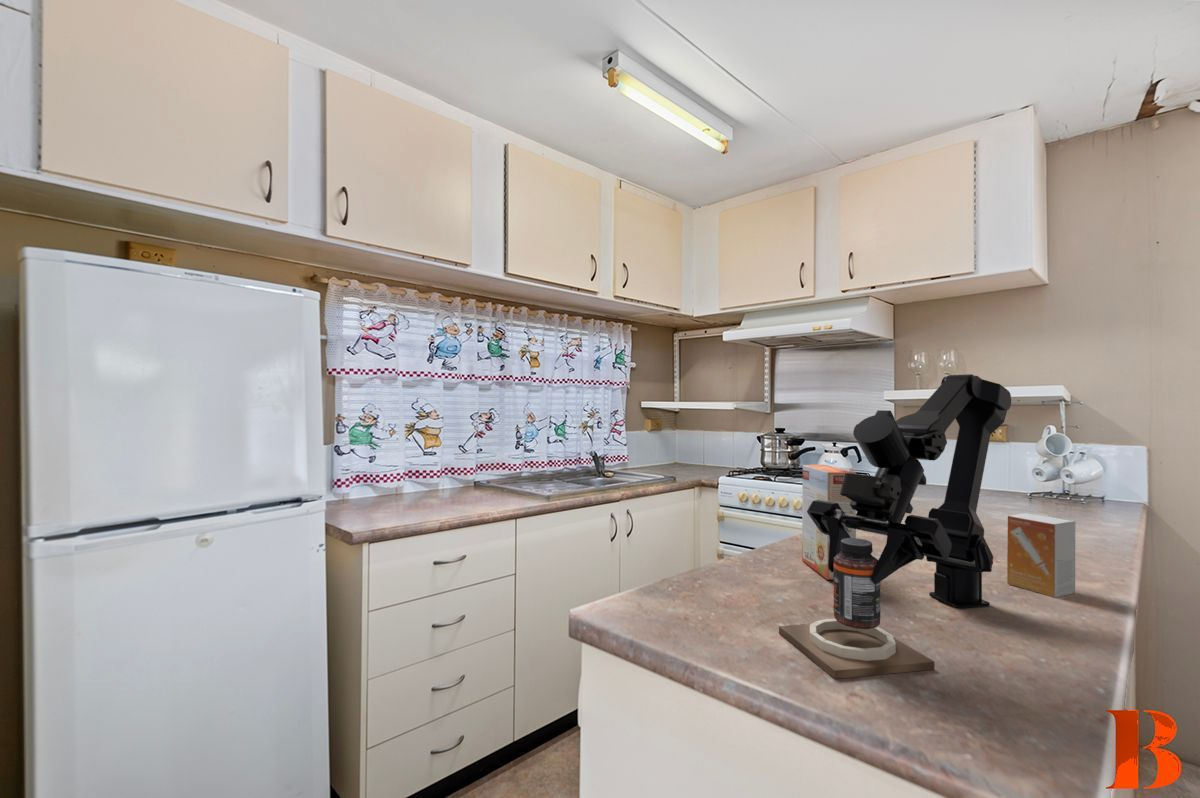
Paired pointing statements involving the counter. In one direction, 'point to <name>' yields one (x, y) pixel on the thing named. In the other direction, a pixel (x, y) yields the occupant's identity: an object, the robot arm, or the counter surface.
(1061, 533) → the small box
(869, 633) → the collar
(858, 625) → the supplement bottle
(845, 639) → the board
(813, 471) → the cracker box
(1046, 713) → the counter surface
